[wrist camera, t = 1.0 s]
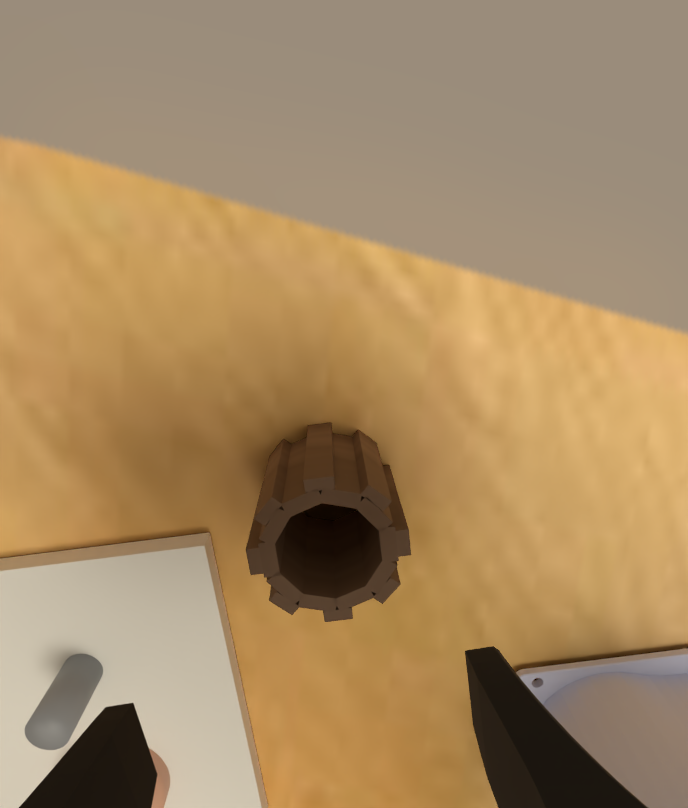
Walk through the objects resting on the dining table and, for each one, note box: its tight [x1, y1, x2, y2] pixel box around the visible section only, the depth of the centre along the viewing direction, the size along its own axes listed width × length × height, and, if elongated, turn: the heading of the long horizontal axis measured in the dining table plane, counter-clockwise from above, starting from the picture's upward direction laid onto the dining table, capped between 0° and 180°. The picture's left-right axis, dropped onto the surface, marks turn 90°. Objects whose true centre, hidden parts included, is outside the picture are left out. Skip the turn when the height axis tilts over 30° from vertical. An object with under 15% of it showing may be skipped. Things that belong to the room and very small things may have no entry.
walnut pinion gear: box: [246, 423, 411, 622], centre depth 19 cm, size 5×5×5 cm
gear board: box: [0, 532, 268, 808], centre depth 22 cm, size 12×15×4 cm
